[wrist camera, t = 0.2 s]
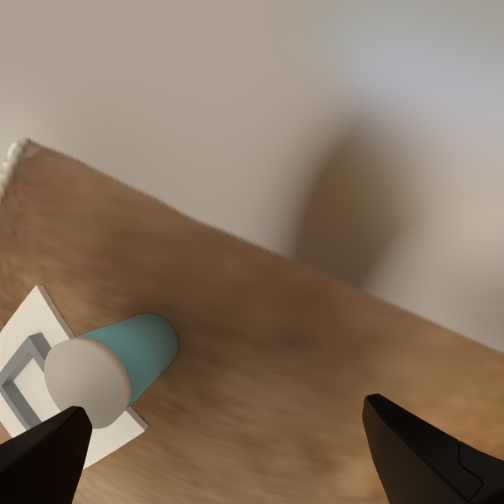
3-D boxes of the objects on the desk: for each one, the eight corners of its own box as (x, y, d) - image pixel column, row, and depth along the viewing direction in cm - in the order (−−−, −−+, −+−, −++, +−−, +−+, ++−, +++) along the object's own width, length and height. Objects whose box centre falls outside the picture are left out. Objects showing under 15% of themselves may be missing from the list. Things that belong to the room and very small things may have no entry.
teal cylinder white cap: (158, 381, 23) (99, 444, 12) (114, 345, 24) (34, 384, 13) (189, 337, 23) (138, 386, 12) (142, 301, 24) (63, 320, 13)
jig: (148, 426, 23) (137, 441, 20) (57, 482, 23) (45, 494, 20) (42, 285, 24) (22, 285, 21) (-23, 374, 24) (-38, 379, 21)
